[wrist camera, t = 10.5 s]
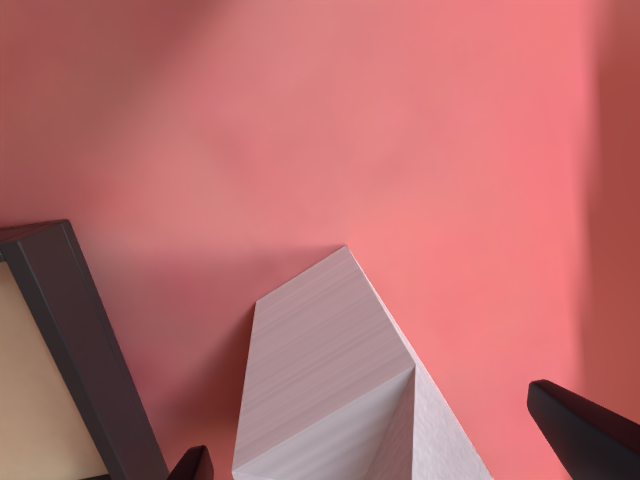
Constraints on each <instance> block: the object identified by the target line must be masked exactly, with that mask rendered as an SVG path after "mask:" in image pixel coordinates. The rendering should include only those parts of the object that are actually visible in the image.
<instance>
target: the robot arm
mask: <svg viewBox="0 0 640 480" xmlns="http://www.w3.org/2000/svg"><path fill="white" fill-rule="evenodd" d="M527 407H528V410H529V412H530V414H531V416H532V417H533V419H534V420H535V422H536V424H537V425H538V427H539V428H540V430H541V431H542V433H543V435H544V436H545V438H546V439H547V441H548V442H549V444H550V446H551V447H552V449H553V450H554V452H555V453H556V455H557V457H558V458H559V460H560V461H561V463H562V464H563V466H564V467H565V469H566V470H567V472H568V473H569V474H570V476H571V477H572V479H573V480H640V425H639V424H637V423H635V422H633V421H631V420H629V419H627V418H624V417H623V416H620V415H618V414H616V413H614V412H612V411H610V410H608V409H606V408H604V407H602V406H600V405H598V404H596V403H594V402H592V401H590V400H588V399H586V398H583V397H581V396H579V395H577V394H575V393H573V392H571V391H569V390H567V389H565V388H563V387H561V386H559V385H557V384H555V383H553V382H551V381H548V380H545V379H542V380H537V381H532V382H531V383H530V384H529V390H528V398H527ZM213 479H214V469H213V465H212V462H211V458H210V455H209V452H208V449H207V447H206V446H205V445H201V446H196V447H191V448H189V449H188V450H187V451H186V453H185V454H184V456H183V457H182V458H181V460H180V461H179V462H178V464H177V465H176V467H175V468H174V469H173V471H172V472H171V474H170V475H169V476H168V478H167V479H166V480H213Z"/></svg>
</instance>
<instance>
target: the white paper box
mask: <svg viewBox="0 0 640 480" xmlns="http://www.w3.org/2000/svg"><path fill="white" fill-rule="evenodd" d="M231 472H232V475H233V478H234V480H494V479H493V477H492V475H491V474H490V472H489V470H488V469H487V467H486V466H485V464H484V462H483V461H482V459H481V457H480V456H479V454H478V453H477V451H476V449H475V448H474V446H473V444H472V443H471V441H470V440H469V438H468V436H467V435H466V433H465V431H464V430H463V428H462V427H461V425H460V423H459V422H458V420H457V418H456V417H455V415H454V413H453V412H452V410H451V409H450V407H449V405H448V404H447V402H446V400H445V399H444V397H443V396H442V394H441V392H440V391H439V389H438V387H437V386H436V384H435V383H434V381H433V379H432V378H431V376H430V374H429V373H428V371H427V370H426V368H425V367H424V365H423V363H422V362H421V360H420V359H419V357H418V356H417V354H416V353H415V351H414V349H413V348H412V346H411V345H410V343H409V342H408V340H407V339H406V337H405V335H404V334H403V332H402V331H401V329H400V328H399V326H398V324H397V323H396V321H395V320H394V318H393V317H392V315H391V314H390V312H389V310H388V309H387V307H386V306H385V304H384V303H383V301H382V300H381V298H380V296H379V295H378V293H377V292H376V290H375V289H374V287H373V286H372V284H371V282H370V281H369V279H368V278H367V276H366V275H365V273H364V272H363V270H362V268H361V267H360V265H359V264H358V262H357V261H356V259H355V258H354V256H353V254H352V253H351V251H350V250H349V248H348V247H347V245H345V246H343V247H342V248H340V249H338V250H337V251H335V252H334V253H332V254H331V255H329V256H327V257H326V258H324V259H323V260H321V261H319V262H318V263H316V264H315V265H313V266H311V267H310V268H308V269H307V270H305V271H303V272H302V273H300V274H299V275H297V276H295V277H294V278H292V279H291V280H289V281H288V282H286V283H284V284H283V285H281V286H280V287H278V288H276V289H275V290H273V291H272V292H270V293H268V294H267V295H265V296H264V297H262V298H260V299H259V300H257V301H256V307H255V314H254V321H253V327H252V334H251V341H250V348H249V355H248V362H247V368H246V375H245V382H244V389H243V396H242V402H241V409H240V416H239V423H238V430H237V437H236V443H235V450H234V457H233V464H232V471H231Z"/></svg>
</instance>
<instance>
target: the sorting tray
mask: <svg viewBox="0 0 640 480" xmlns="http://www.w3.org/2000/svg"><path fill="white" fill-rule="evenodd" d="M169 475H170V474H169V471H168V469H167V466H166V464H165V461H164V459H163V456H162V454H161V451H160V449H159V446H158V444H157V441H156V438H155V436H154V433H153V431H152V428H151V426H150V423H149V421H148V418H147V416H146V413H145V411H144V408H143V406H142V403H141V401H140V398H139V395H138V393H137V390H136V388H135V385H134V383H133V380H132V378H131V375H130V373H129V370H128V368H127V365H126V363H125V360H124V358H123V355H122V352H121V350H120V347H119V345H118V342H117V340H116V337H115V335H114V332H113V330H112V327H111V325H110V322H109V320H108V317H107V314H106V312H105V309H104V307H103V304H102V302H101V299H100V297H99V294H98V292H97V289H96V287H95V284H94V282H93V279H92V277H91V274H90V271H89V269H88V266H87V264H86V261H85V259H84V256H83V254H82V251H81V249H80V246H79V244H78V241H77V239H76V236H75V234H74V231H73V228H72V226H71V223H70V221H69V220H60V221H53V222H46V223H39V224H31V225H24V226H17V227H10V228H3V229H0V480H166V479H167V478H168V476H169Z"/></svg>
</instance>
